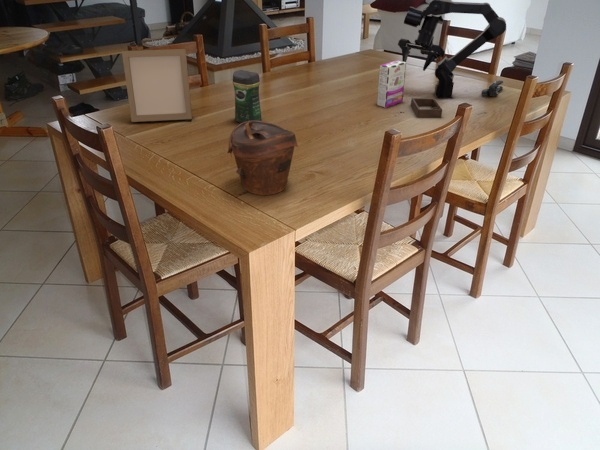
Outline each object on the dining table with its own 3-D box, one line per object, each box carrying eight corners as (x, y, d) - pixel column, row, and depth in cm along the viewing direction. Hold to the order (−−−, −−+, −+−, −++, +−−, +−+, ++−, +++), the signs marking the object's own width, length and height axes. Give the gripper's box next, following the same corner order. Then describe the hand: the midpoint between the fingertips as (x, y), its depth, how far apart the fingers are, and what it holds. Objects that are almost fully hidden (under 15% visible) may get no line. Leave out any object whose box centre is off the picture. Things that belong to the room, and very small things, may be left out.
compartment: (432, 105, 204) (433, 98, 202) (441, 117, 192) (442, 109, 190) (410, 105, 204) (411, 98, 202) (417, 117, 192) (418, 109, 190)
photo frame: (192, 121, 187) (184, 52, 174) (132, 124, 184) (119, 54, 171) (192, 108, 200) (185, 43, 187) (136, 111, 197) (125, 45, 184)
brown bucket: (243, 167, 153) (239, 111, 144) (305, 176, 149) (306, 118, 139) (218, 194, 139) (213, 132, 129) (287, 204, 134) (286, 141, 125)
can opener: (494, 99, 211) (497, 86, 208) (478, 96, 215) (481, 83, 212) (508, 90, 223) (511, 77, 220) (493, 87, 227) (495, 74, 224)
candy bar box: (393, 99, 211) (397, 59, 202) (402, 102, 208) (407, 62, 199) (375, 105, 204) (379, 64, 196) (385, 108, 201) (389, 66, 192)
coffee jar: (265, 120, 188) (263, 71, 178) (251, 127, 183) (249, 75, 173) (245, 115, 193) (242, 66, 183) (231, 121, 187) (228, 71, 178)
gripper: (453, 42, 205) (439, 79, 207) (412, 34, 214) (399, 70, 216) (447, 31, 196) (432, 70, 197) (404, 24, 205) (390, 61, 207)
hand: (413, 68), depth 205 cm, fingers open, 9 cm apart
